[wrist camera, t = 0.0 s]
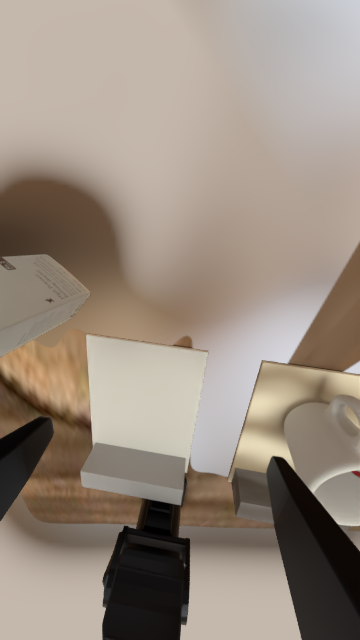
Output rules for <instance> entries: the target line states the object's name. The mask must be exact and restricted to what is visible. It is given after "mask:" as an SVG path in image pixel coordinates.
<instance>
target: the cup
mask: <svg viewBox="0 0 360 640" xmlns="http://www.w3.org/2000/svg"><path fill="white" fill-rule="evenodd" d="M347 406H348V407H350V408H351V410H352V411H353V412H354V413H355V415H356V416H357V418H358V421H359V425H360V400H359V399H357V398H355V397H353V396H350V395H344V394H340V395H337V396H335V397H334V398H333V399H332V400H331V402H330V405H328V404H325V403H317V402H313V403H306V404H303V405H300V406H298V407H296V408H294V409H293V410H292V411H291V412H290V413H289V414H288V415H287V417H286V419H285V422H284V434H285V438H286V441H287V444H288V448H289V451H290V454H291V457H292V460H293V463H294V467H295V470H296V473H297V474H298V476H299V477H300V478H301V479H302V481H303V482H304V483H305V484H306V486H307V487H308V488H309V489H310V490H311V492H312V493H313V494H314V495H315V497H316V498H317V499H318V500H319V502H320V503H321V504H322V505H323V507H324V508H325V509H326V510H327V511H328V513H329V514H330V515H331V516H332V518H333V519H334V520H335V521H336V523H337V524H339V525H346V526H360V429H359V428H358V427H357V426H356V425H355V424H354V423H353V422H352V421H351V420H350V419H349V418H348V417H347V415H346V407H347Z"/></svg>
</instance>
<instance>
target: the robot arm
mask: <svg viewBox="0 0 360 640" xmlns="http://www.w3.org/2000/svg"><path fill="white" fill-rule="evenodd" d="M53 433H54V430H53V423H52V419H51V417H46V416H40V417H38V418H36V419H34V420H33V421H31V422H29V423H27V424H25V425H24V426H22V427H20V428H18V429H17V430H15V431H13V432H11V433H10V434H8V435H6V436H4V437H3V438H1V439H0V521H1V520H2V518H3V517H4V515H5V514H6V512H7V511H8V509H9V508H10V506H11V505H12V503H13V502H14V500H15V499H16V497H17V496H18V494H19V493H20V491H21V490H22V488H23V487H24V485H25V484H26V482H27V481H28V479H29V478H30V476H31V474H32V473H33V471H34V469H35V467H36V466H37V464H38V462H39V460H40V458H41V457H42V455H43V453H44V451H45V450H46V448H47V446H48V444H49V442H50V441H51V439H52V437H53ZM266 476H267V483H268V489H269V496H270V502H271V509H272V515H273V521H274V527H275V531H276V535H277V540H278V544H279V547H280V552H281V556H282V560H283V564H284V568H285V572H286V576H287V580H288V585H289V588H290V593H291V597H292V601H293V605H294V609H295V613H296V617H297V621H298V626H299V630H300V634H301V638H302V640H360V551H359V550H358V548H357V547H356V546H355V545H354V544H353V542H352V541H351V540H350V539H349V537H348V536H347V535H346V534H345V532H344V531H343V530H342V529H341V527H340V526H339V525H338V524H337V523H336V521H335V520H334V519H333V518H332V516H331V515H330V514H329V513H328V511H327V510H326V509H325V508H324V507H323V505H322V504H321V503H320V502H319V500H318V499H317V498H316V497H315V495H314V494H313V493H312V492H311V490H310V489H309V488H308V487H307V486H306V484H305V483H304V482H303V481H302V479H301V478H300V477H299V476H298V474H297V473H296V472H295V471H294V470H293V468H292V467H291V466H290V465H289V463H288V462H287V461H286V460H285V459H284V458H283V457H279V456H272V457H271V459H270V462H269V464H268V467H267V470H266ZM186 484H187V480H186V479H184V488H183V495H182V500H181V505H176V504H171V503H166V502H161V501H155V500H150V499H145V498H142V500H143V501H142V505H141V509H140V514H139V518H138V522H137V527H136V529H134V528H129V527H128V526H124V528H123V531H122V532H120V533H119V535H118V538H117V542H116V545H115V548H114V551H113V554H112V556H111V559H110V561H109V564H108V566H107V569H106V571H105V574H104V577H103V581H102V582H103V585H104V599H103V607H105V608H106V611H105V615H104V619H103V624H102V638H103V639H102V640H180V632H181V625H186V623H187V615H188V604H189V585H190V582H189V581H190V539H189V538H186V539H184V538H179V537H178V536H179V524H180V512H181V508H182V506H183V501H184V495H185V490H186Z"/></svg>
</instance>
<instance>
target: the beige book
mask: <svg viewBox="0 0 360 640" xmlns="http://www.w3.org/2000/svg"><path fill="white" fill-rule="evenodd" d="M340 394H344V395H350V396H353V397H355V398H357V399H359V400H360V374H353V373H346V372H339V371H333V370H326V369H319V368H312V367H305V366H298V365H291V364H285V363H278V362H271V361H263V360H262V363H261V366H260V369H259V373H258V376H257V379H256V383H255V386H254V390H253V393H252V397H251V400H250V403H249V407H248V410H247V414H246V417H245V421H244V424H243V427H242V431H241V434H240V438H239V441H238V445H237V448H236V452H235V455H234V458H233V462H232V465H231V469H230V472H229V476H228V481H229V482H232V490H233V498H234V506H235V514H236V517H240V518H245V519H250V520H256V521H261V522H266V523H272V524H274V521H273V515H272V509H271V502H270V496H269V489H268V483H267V476H266V470H267V467H268V464H269V462H270V459H271V457H272V456H279V457H283V458H284V459H285V460H286V461H287V462H288V463H289V465H290V466H291V467H292V468H293V470H294V471H295V472H296V470H295V467H294V463H293V460H292V457H291V454H290V451H289V448H288V444H287V441H286V438H285V434H284V422H285V419H286V417H287V415H288V414H289V413H290V412H291V411H292V410H293V409H294V408H296V407H298V406H300V405H303V404H306V403H313V402H317V403H325V404H328V405H330V402H331V400H332V399H333V398H334V397H335V396H337V395H340ZM346 415H347V417H348V418H349V419H350V420H351V421H352V422H353V423H354V424H355V425H356V426H357V427H358V428H359V429H360V425H359V421H358V418H357V416H356V415H355V413H354V412H353V411H352V410H351V408H350V407H348V406H347V407H346ZM338 525H339V524H338ZM339 526H340V527H341V529H342V530H343V531H344V532H345V534H346V532H347V531H348V530H349V528H350V527H351V526H346V525H339Z"/></svg>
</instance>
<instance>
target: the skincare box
mask: <svg viewBox="0 0 360 640" xmlns="http://www.w3.org/2000/svg"><path fill="white" fill-rule="evenodd" d="M90 294H91V293H90V291H89V290H88V289H87V288H86V287H85V286H84V285H83V284H82V283H81V282H80V281H79V280H77V279H76V278H75V277H74V276H73V275H72V274H71V273H70V272H69V271H67V270H66V269H65V268H64V267H63V266H61V265H60V264H59V263H58V262H57V261H55V260H54V259H53V258H52V257H50V256H49V255H47V254H41V255H25V256H11V257H0V357H2V356H4V355H5V354H7V353H9V352H11V351H13V350H15V349H17V348H18V347H20V346H22V345H24V344H26V343H28V342H29V341H31V340H33V339H35V338H36V337H38V336H40V335H42V334H44V333H46V332H47V331H49V330H51V329H53V328H55V327H57V326H59V325H60V324H62V323H64V322H66V321H68V320H70V319H72V318H73V317H74V316H75V314H76V313H77V312H78V310H79V309H80V308H81V306H82V305H83V304H84V303H85V301H86V300H87V298H88V297H89V296H90Z"/></svg>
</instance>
